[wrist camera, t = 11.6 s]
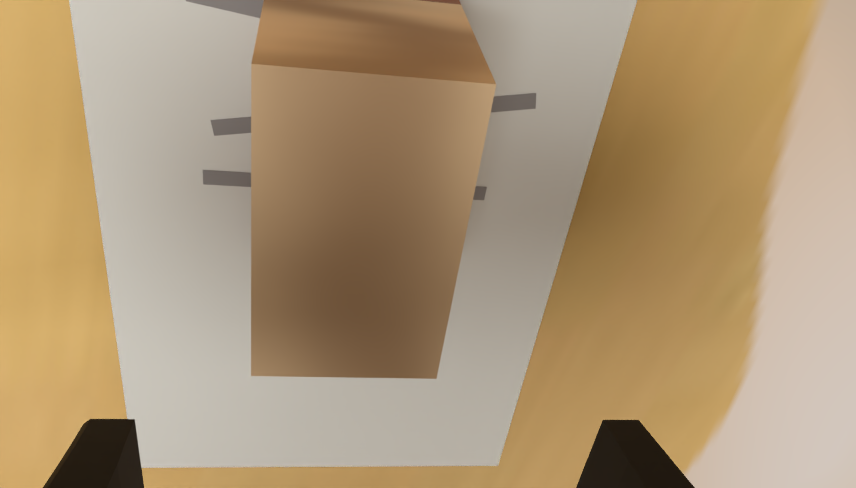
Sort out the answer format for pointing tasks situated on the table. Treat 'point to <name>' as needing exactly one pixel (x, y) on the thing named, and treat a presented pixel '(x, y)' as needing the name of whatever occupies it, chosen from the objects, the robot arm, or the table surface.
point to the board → (231, 235)
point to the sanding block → (361, 182)
